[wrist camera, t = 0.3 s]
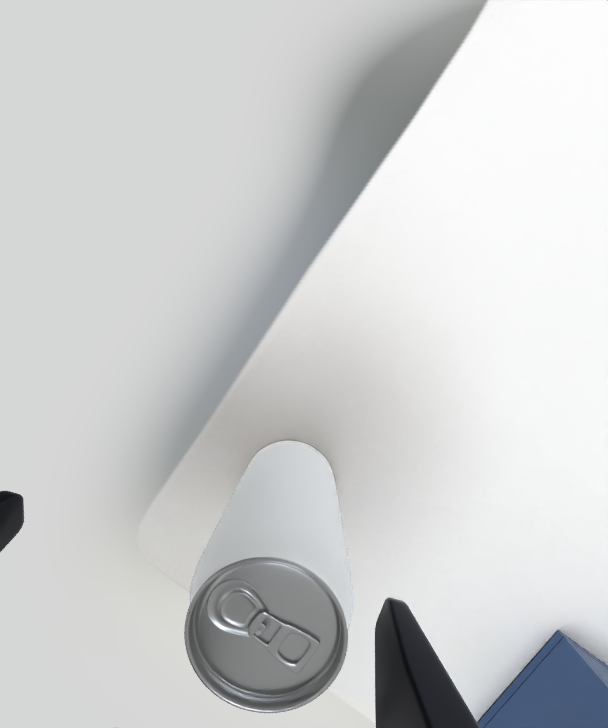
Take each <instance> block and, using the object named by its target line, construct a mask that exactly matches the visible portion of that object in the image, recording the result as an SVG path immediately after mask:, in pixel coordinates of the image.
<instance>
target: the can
mask: <svg viewBox="0 0 608 728" xmlns="http://www.w3.org/2000/svg"><path fill="white" fill-rule="evenodd" d="M352 611H353V588H352V580H351V573H350V567H349V560H348V554H347V548H346V542H345V536H344V530H343V524H342V518H341V513H340V507H339V501H338V495H337V490H336V484H335V479H334V475H333V472H332V469H331V467H330V465H329V463H328V461H327V460H326V459H325V457H324V456H323V455H322V454H321V453H320V452H319V451H318V450H316V449H315V448H313V447H312V446H310V445H308V444H305V443H302V442H298V441H280V442H276V443H273V444H270V445H268V446H266V447H264V448H263V449H261V450H260V451H259V452H258V453H257V454H256V455H255V456H254V457H253V459H252V460H251V462H250V464H249V465H248V467H247V469H246V471H245V473H244V475H243V476H242V478H241V480H240V482H239V484H238V486H237V488H236V490H235V492H234V494H233V495H232V497H231V499H230V501H229V503H228V505H227V507H226V509H225V511H224V513H223V515H222V517H221V519H220V520H219V522H218V524H217V526H216V528H215V530H214V532H213V534H212V536H211V538H210V540H209V542H208V544H207V546H206V548H205V550H204V552H203V554H202V556H201V558H200V560H199V563H198V565H197V567H196V570H195V573H194V576H193V580H192V584H191V592H190V606H189V609H188V612H187V617H186V621H185V632H184V634H185V645H186V650H187V654H188V657H189V660H190V663H191V665H192V667H193V669H194V671H195V672H196V674H197V675H198V677H199V678H200V680H201V681H202V682H203V684H204V685H205V686H206V687H207V688H208V689H209V690H211V692H213V693H214V694H215V695H216V696H218V697H219V698H220V699H222V700H224V701H226V702H227V703H229V704H231V705H233V706H236V707H238V708H241V709H244V710H248V711H253V712H260V713H278V712H285V711H289V710H293V709H296V708H299V707H301V706H303V705H305V704H307V703H309V702H311V701H312V700H314V699H316V698H317V697H318V696H320V695H321V694H322V693H323V692H324V691H325V690H326V689H327V688H328V687H329V686H330V685H331V684H332V682H333V681H334V680H335V678H336V677H337V675H338V673H339V671H340V670H341V667H342V665H343V662H344V659H345V656H346V651H347V644H348V628H349V625H350V621H351V617H352Z"/></svg>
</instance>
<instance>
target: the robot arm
mask: <svg viewBox="0 0 608 728" xmlns="http://www.w3.org/2000/svg"><path fill="white" fill-rule="evenodd" d="M23 508H24V506H23V497H22V496H21V495H20V494H17V493H13V492H9V491H1V492H0V552H1V551H2V549H3V548H5V546H6V545H7V544H8V543H9V542H10V541H11V540H12V539H13V538H14V537H15V536H16V534H17V533H18V532H19V531H20V529H21V528H22V525H23V523H24V509H23ZM375 703H376V728H480V727H479V725H478V724H477V722H476V720H475V719H474V717H473V715H472V714H471V712H470V710H469V709H468V707H467V705H466V704H465V702H464V700H463V698H462V697H461V695H460V693H459V692H458V690H457V688H456V687H455V685H454V683H453V682H452V680H451V678H450V677H449V675H448V673H447V671H446V670H445V668H444V666H443V665H442V663H441V661H440V660H439V658H438V656H437V655H436V653H435V651H434V650H433V648H432V646H431V644H430V643H429V641H428V639H427V638H426V636H425V634H424V633H423V631H422V629H421V628H420V626H419V624H418V622H417V621H416V619H415V617H414V616H413V614H412V612H411V611H410V609H409V607H408V606H407V604H406V603H405V602H403V601H400V600H397V599H393V598H387V599H386V600H385V602H384V605H383V607H382V610H381V612H380V615H379V617H378V620H377V622H376V628H375Z"/></svg>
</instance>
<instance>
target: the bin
mask: <svg viewBox="0 0 608 728" xmlns="http://www.w3.org/2000/svg"><path fill="white" fill-rule="evenodd" d="M477 724H478V725H479V727H480V728H608V666H607V665H605V664H604V663H602V662H601V661H600V660H598V659H597V658H596V657H594V656H593V655H592V654H590V653H589V652H587V651H586V650H585V649H583V648H582V647H581V646H579V645H578V644H577V643H575V642H574V641H572V640H571V639H570V638H568V637H567V636H566V635H564V634H563V633H562V632H560V631H557V632H556V634H555V635H554V636H553V637H552V638H551V639H550V640H549V642H548V643H547V644H546V645H545V646H544V647H543V648H542V650H541V651H540V652H539V653H538V654H537V655H536V656H535V658H534V659H533V660H532V661H531V662H530V663H529V664H528V666H527V667H526V668H525V669H524V670H523V671H522V673H521V674H520V675H519V676H518V677H517V678H516V679H515V681H514V682H513V683H512V684H511V685H510V686H509V687H508V689H507V690H506V691H505V692H504V693H503V694H502V695H501V697H500V698H499V699H498V700H497V701H496V702H495V703H494V705H493V706H492V707H491V708H490V709H489V710H488V711H487V713H486V714H485V715H484V716H483V717H482V718H481V719H480V721H479V722H478V723H477Z"/></svg>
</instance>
